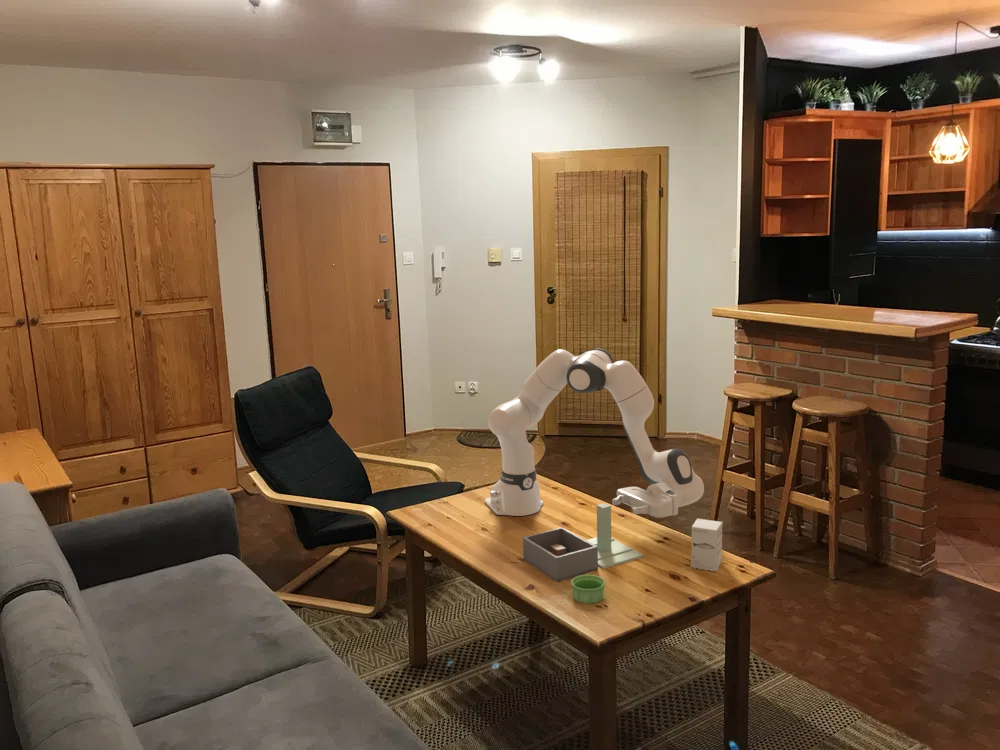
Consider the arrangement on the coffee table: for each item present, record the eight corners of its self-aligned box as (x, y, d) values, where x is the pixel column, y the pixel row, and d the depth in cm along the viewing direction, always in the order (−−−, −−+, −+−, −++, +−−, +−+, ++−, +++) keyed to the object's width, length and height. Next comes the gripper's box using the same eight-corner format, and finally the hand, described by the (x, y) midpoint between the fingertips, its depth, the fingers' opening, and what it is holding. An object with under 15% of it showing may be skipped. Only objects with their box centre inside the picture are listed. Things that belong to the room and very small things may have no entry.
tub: (523, 559, 235) (522, 537, 234) (562, 548, 242) (562, 527, 240) (556, 582, 220) (556, 558, 218) (598, 569, 226) (597, 546, 225)
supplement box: (690, 568, 225) (690, 526, 222) (696, 558, 231) (697, 517, 229) (716, 573, 221) (717, 530, 219) (722, 562, 228) (723, 521, 225)
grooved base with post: (566, 548, 243) (565, 501, 240) (605, 537, 250) (604, 492, 247) (603, 569, 227) (602, 520, 224) (643, 557, 234) (643, 509, 231)
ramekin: (592, 586, 216) (592, 571, 215) (612, 599, 208) (612, 584, 208) (564, 594, 212) (564, 579, 211) (583, 608, 204) (583, 592, 203)
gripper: (637, 479, 254) (602, 487, 247) (681, 496, 236) (644, 505, 230) (637, 498, 255) (602, 507, 249) (681, 516, 237) (644, 526, 231)
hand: (623, 506), depth 239 cm, fingers open, 8 cm apart
